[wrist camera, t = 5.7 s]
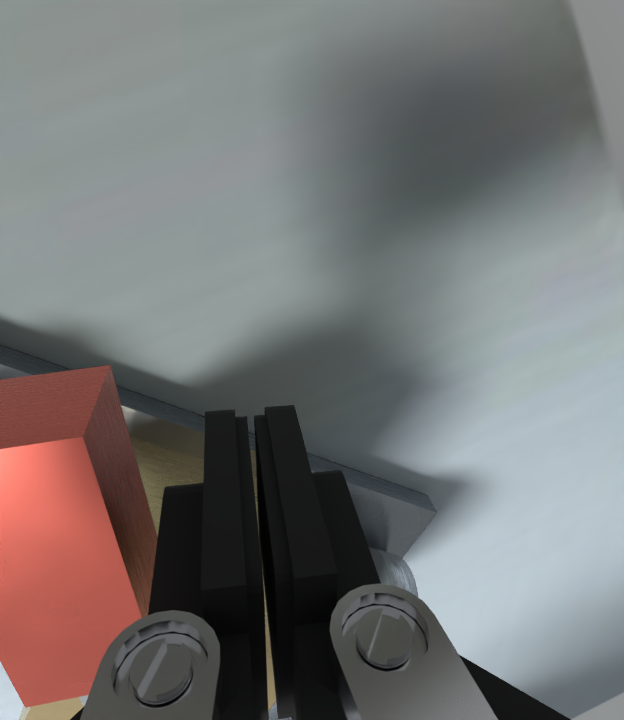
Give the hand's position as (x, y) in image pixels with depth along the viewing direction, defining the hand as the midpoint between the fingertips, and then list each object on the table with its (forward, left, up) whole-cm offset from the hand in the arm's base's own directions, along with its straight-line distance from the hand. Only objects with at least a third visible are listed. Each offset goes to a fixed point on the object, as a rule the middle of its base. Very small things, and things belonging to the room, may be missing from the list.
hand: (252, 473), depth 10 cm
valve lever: (+1, +4, 0) cm, 4 cm away
